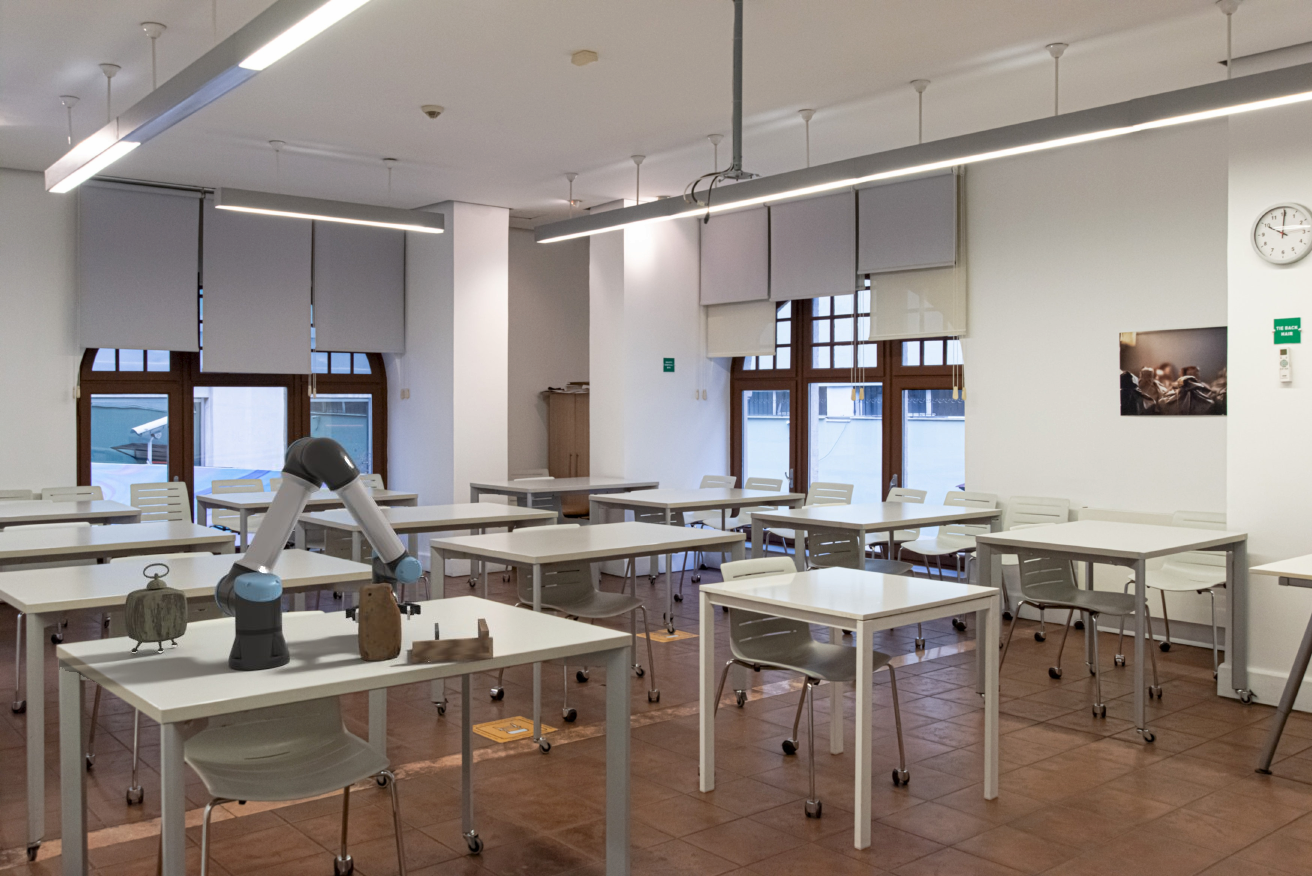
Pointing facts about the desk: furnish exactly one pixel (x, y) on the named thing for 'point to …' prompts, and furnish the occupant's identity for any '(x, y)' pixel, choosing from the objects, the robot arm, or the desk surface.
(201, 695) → the desk surface
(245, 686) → the desk surface
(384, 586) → the block
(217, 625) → the desk surface
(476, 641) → the wooden holder
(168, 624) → the tabletop clock
